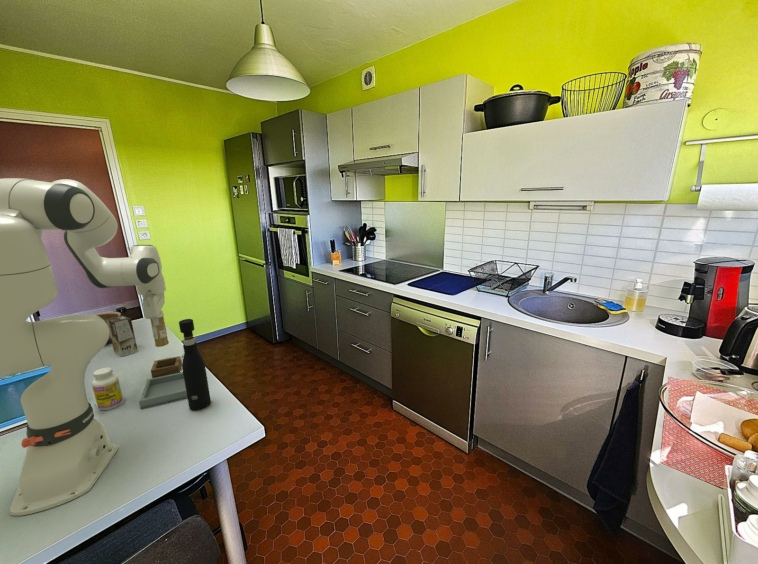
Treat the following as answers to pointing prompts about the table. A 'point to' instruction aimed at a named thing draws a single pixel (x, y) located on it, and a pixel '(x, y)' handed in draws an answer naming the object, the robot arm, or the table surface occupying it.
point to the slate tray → (163, 390)
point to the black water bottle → (194, 369)
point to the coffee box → (122, 335)
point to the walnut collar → (166, 367)
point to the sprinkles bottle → (160, 331)
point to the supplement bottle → (106, 389)
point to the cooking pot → (108, 317)
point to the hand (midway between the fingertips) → (158, 322)
